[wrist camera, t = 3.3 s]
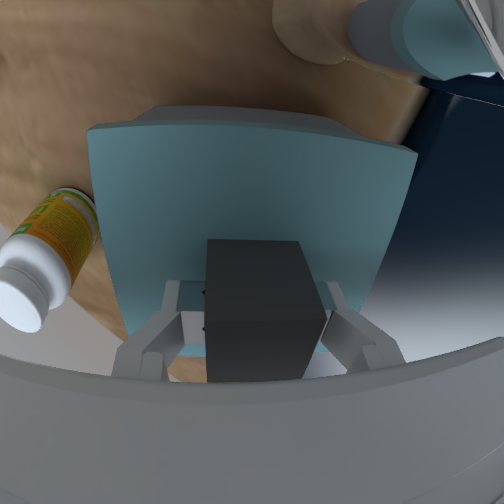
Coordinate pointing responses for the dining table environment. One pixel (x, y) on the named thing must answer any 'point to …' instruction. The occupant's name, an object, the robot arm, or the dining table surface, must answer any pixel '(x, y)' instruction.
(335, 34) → the beer glass
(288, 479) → the robot arm
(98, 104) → the dining table surface
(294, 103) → the dining table surface
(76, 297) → the dining table surface
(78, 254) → the supplement bottle
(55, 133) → the dining table surface
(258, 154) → the lid
